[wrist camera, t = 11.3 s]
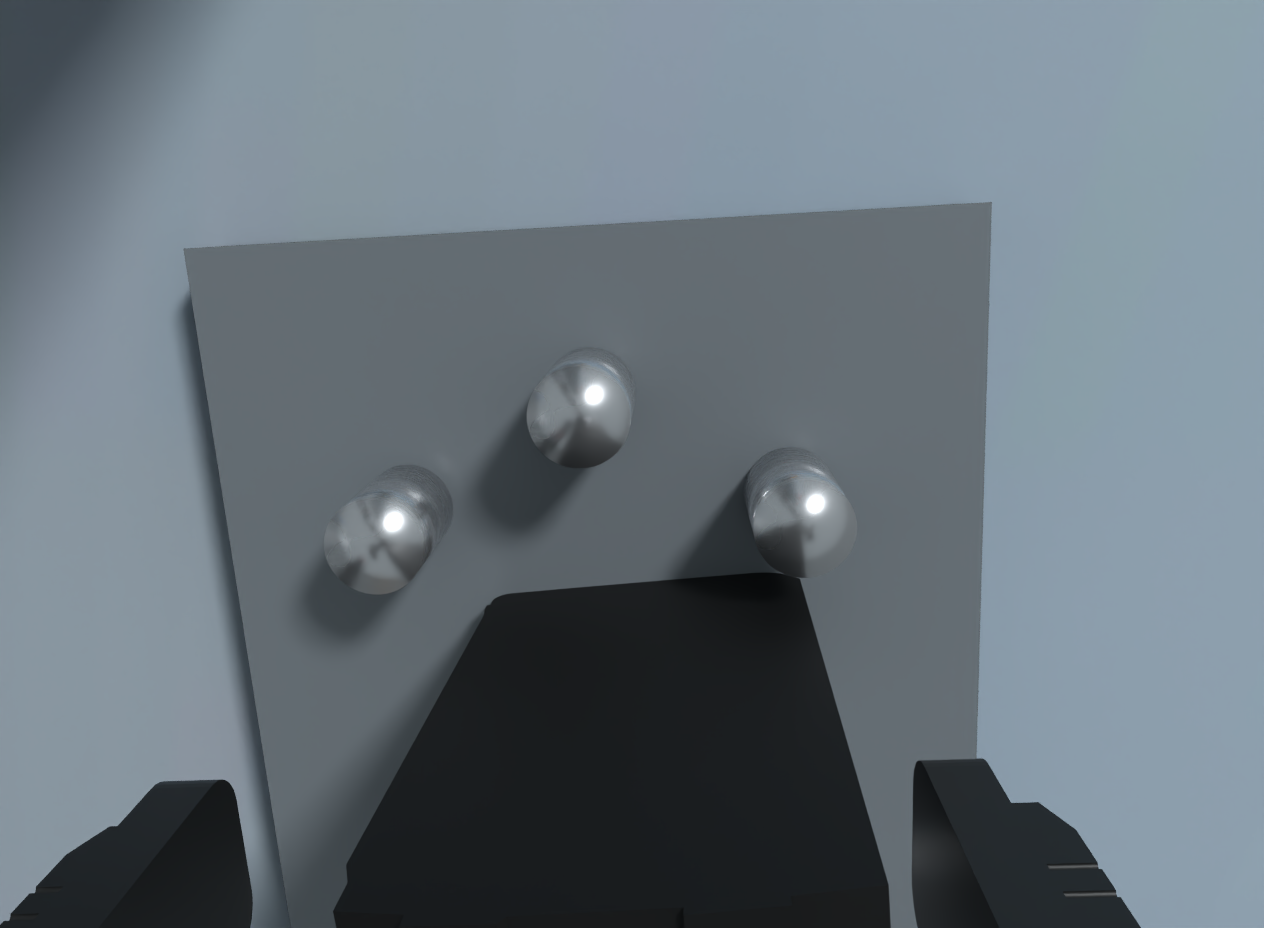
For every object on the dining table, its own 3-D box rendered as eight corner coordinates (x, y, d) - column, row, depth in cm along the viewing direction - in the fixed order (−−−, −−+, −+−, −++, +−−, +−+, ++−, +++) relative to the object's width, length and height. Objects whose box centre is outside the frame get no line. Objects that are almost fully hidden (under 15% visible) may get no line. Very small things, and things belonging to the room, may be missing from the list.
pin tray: (328, 978, 20) (263, 1121, 16) (218, 246, 16) (111, 253, 13) (951, 966, 19) (1005, 1113, 16) (967, 203, 16) (1040, 199, 13)
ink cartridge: (509, 719, 17) (351, 1147, 9) (492, 591, 16) (307, 931, 9) (806, 700, 16) (905, 1133, 9) (798, 569, 16) (896, 905, 8)
